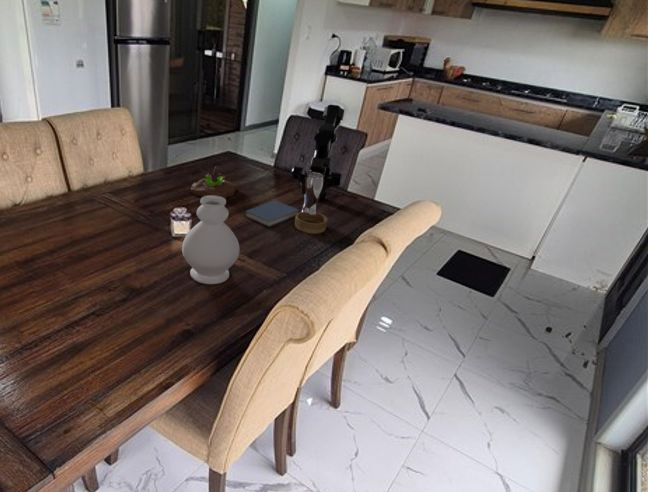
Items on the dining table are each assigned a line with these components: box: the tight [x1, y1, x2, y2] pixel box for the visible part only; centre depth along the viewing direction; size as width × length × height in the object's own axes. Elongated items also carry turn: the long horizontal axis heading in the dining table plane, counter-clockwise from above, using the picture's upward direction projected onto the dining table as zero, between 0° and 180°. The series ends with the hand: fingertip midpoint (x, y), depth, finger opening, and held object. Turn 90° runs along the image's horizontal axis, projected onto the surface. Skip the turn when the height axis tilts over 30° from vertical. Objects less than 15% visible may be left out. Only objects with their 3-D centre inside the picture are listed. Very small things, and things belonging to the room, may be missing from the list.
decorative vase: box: [181, 195, 240, 285], centre depth 140 cm, size 18×18×25 cm
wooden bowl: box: [293, 211, 329, 235], centre depth 182 cm, size 12×12×4 cm
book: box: [244, 200, 300, 228], centre depth 189 cm, size 19×13×2 cm
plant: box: [190, 164, 238, 200], centre depth 206 cm, size 20×20×11 cm
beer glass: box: [301, 171, 324, 215], centre depth 176 cm, size 7×7×15 cm
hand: (311, 196), depth 175 cm, fingers closed on beer glass, 6 cm apart
